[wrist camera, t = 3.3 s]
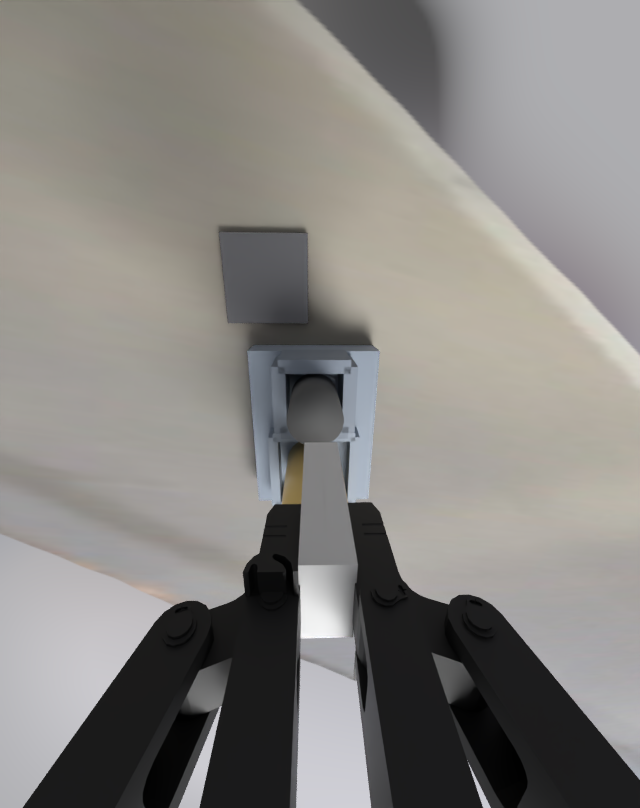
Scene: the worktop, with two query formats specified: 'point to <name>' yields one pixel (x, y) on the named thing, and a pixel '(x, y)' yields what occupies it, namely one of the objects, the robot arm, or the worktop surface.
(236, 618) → the robot arm
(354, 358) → the housing
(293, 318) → the mat
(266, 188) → the worktop surface
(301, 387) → the plunger
